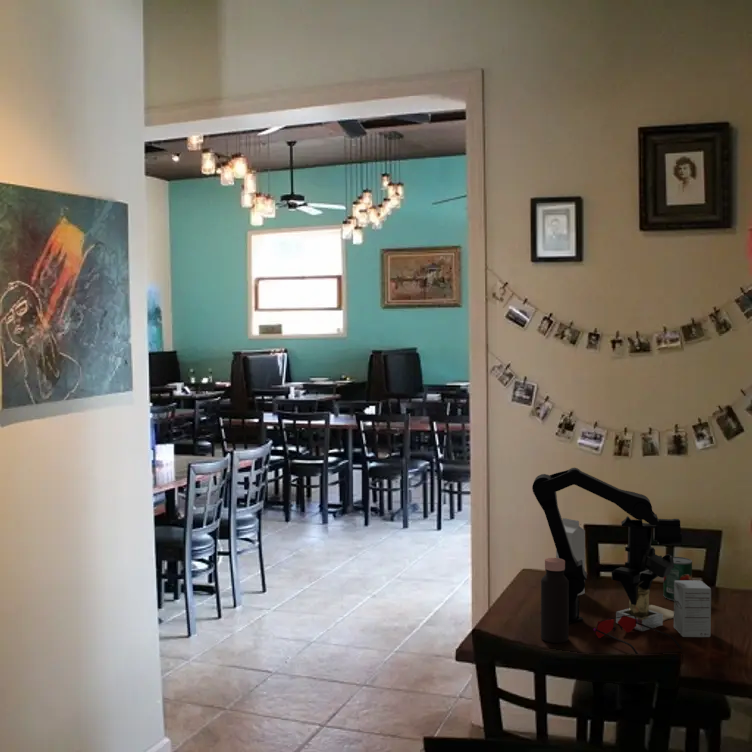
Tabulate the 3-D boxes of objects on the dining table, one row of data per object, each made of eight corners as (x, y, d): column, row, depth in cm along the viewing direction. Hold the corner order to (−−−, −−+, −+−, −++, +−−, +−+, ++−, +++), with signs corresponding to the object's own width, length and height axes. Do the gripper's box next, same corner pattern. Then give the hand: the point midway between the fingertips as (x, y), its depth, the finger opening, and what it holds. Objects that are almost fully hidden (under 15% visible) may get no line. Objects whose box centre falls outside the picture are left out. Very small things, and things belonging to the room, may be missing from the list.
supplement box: (672, 627, 234) (673, 579, 234) (701, 628, 234) (702, 579, 234) (681, 637, 227) (682, 587, 226) (711, 637, 227) (711, 587, 226)
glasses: (634, 630, 234) (634, 611, 233) (683, 650, 219) (683, 630, 219) (592, 639, 227) (592, 619, 227) (639, 660, 212) (640, 639, 212)
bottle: (568, 644, 222) (569, 564, 221) (540, 642, 224) (541, 563, 223) (567, 635, 229) (568, 557, 228) (540, 633, 230) (541, 556, 229)
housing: (642, 631, 232) (642, 619, 232) (615, 622, 238) (616, 611, 238) (662, 625, 237) (662, 613, 236) (636, 617, 243) (636, 606, 243)
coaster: (658, 622, 239) (658, 620, 239) (628, 612, 247) (628, 611, 247) (682, 615, 245) (682, 613, 245) (651, 606, 253) (651, 604, 253)
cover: (640, 624, 234) (641, 593, 233) (623, 618, 238) (624, 588, 238) (653, 620, 237) (654, 590, 236) (637, 614, 241) (637, 585, 241)
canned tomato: (662, 592, 266) (663, 555, 266) (690, 594, 264) (691, 557, 264) (663, 600, 259) (664, 562, 258) (692, 602, 256) (693, 564, 256)
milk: (568, 589, 270) (568, 516, 269) (585, 594, 265) (585, 519, 264) (555, 593, 266) (555, 519, 265) (572, 597, 261) (572, 522, 260)
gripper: (651, 555, 224) (650, 617, 225) (685, 542, 237) (684, 601, 238) (610, 547, 232) (610, 607, 233) (646, 535, 245) (645, 592, 246)
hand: (638, 602), depth 237 cm, fingers closed on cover, 5 cm apart
